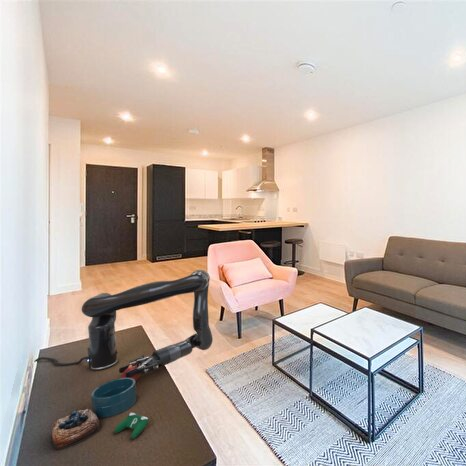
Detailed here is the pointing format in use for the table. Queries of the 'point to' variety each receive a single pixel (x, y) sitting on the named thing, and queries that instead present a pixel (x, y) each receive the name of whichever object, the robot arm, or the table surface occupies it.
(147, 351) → the table surface
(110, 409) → the pot
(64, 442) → the pastry
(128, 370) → the onion
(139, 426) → the gaming controller
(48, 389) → the table surface
